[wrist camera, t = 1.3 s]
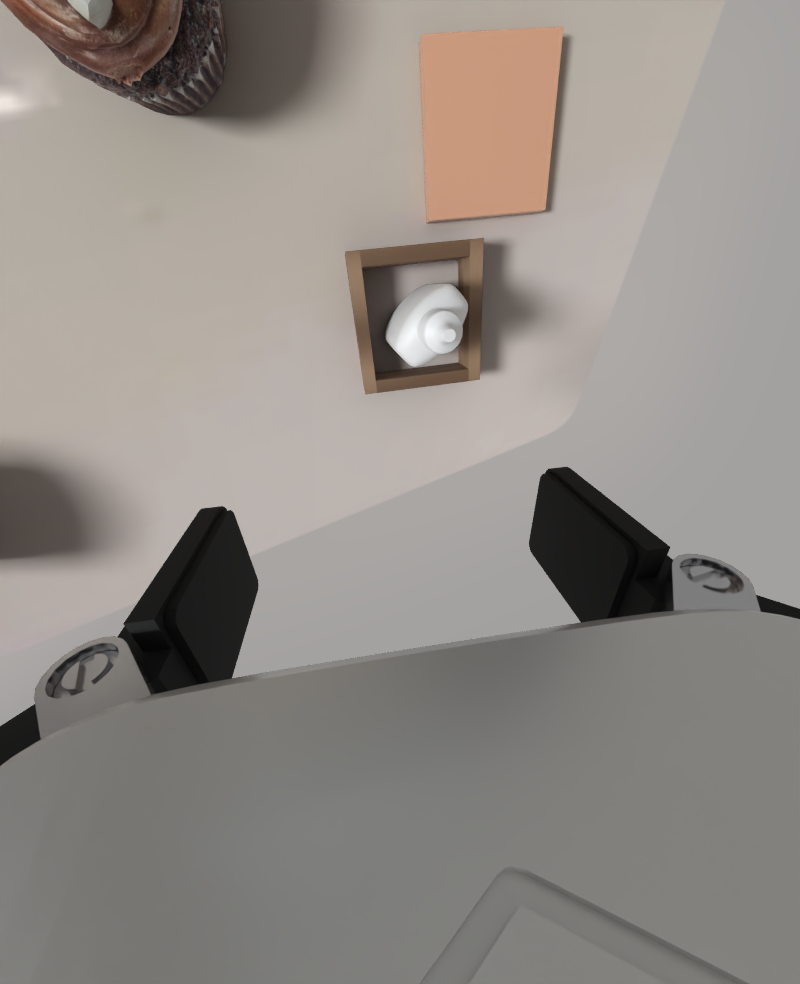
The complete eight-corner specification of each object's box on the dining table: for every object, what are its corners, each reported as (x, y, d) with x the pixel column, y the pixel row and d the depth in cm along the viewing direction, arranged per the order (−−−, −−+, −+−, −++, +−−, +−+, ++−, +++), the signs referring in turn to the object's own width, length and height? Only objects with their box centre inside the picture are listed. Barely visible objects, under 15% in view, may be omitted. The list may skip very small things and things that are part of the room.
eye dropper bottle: (449, 334, 31) (503, 357, 20) (390, 356, 31) (413, 389, 21) (438, 279, 28) (491, 274, 18) (373, 303, 29) (390, 311, 18)
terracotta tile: (419, 44, 22) (422, 34, 21) (555, 36, 22) (563, 26, 22) (426, 223, 26) (429, 220, 26) (539, 212, 27) (545, 210, 26)
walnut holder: (345, 255, 27) (345, 251, 24) (470, 242, 27) (483, 238, 25) (363, 385, 32) (365, 394, 29) (469, 372, 33) (479, 379, 30)
